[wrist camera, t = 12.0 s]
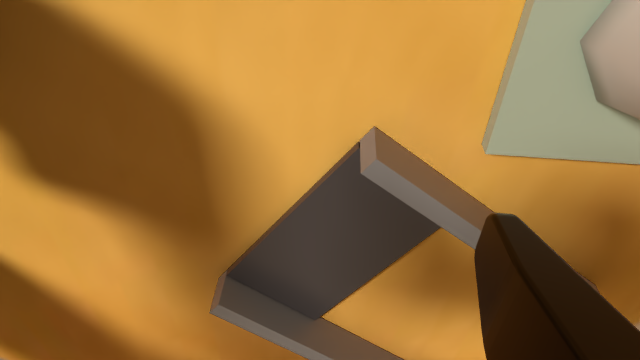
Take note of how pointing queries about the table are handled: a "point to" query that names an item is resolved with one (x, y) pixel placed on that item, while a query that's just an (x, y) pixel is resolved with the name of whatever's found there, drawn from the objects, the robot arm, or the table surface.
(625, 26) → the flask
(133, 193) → the table surface
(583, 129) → the pad
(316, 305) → the trough
